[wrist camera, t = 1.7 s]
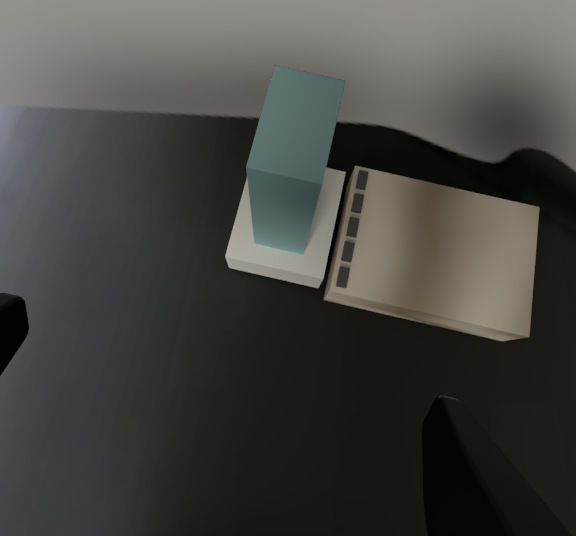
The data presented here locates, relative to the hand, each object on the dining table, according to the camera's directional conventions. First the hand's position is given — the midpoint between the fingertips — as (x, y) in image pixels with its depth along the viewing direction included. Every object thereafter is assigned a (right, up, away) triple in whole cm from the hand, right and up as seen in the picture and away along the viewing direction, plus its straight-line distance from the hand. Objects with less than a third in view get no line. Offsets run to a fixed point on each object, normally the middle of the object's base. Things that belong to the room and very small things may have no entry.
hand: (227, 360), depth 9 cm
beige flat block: (+9, +2, +15) cm, 18 cm away
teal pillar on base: (+1, +4, +15) cm, 16 cm away
